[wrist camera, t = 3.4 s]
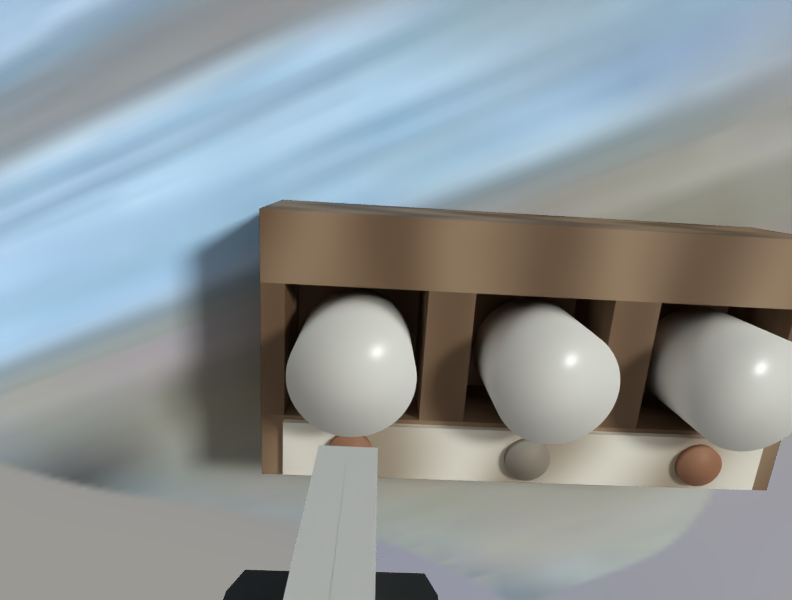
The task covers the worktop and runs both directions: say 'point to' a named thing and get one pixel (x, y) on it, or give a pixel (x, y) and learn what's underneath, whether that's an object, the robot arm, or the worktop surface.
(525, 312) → the middle button
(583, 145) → the worktop surface
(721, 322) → the right button
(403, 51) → the worktop surface
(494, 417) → the button panel
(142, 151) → the worktop surface
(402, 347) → the left button
